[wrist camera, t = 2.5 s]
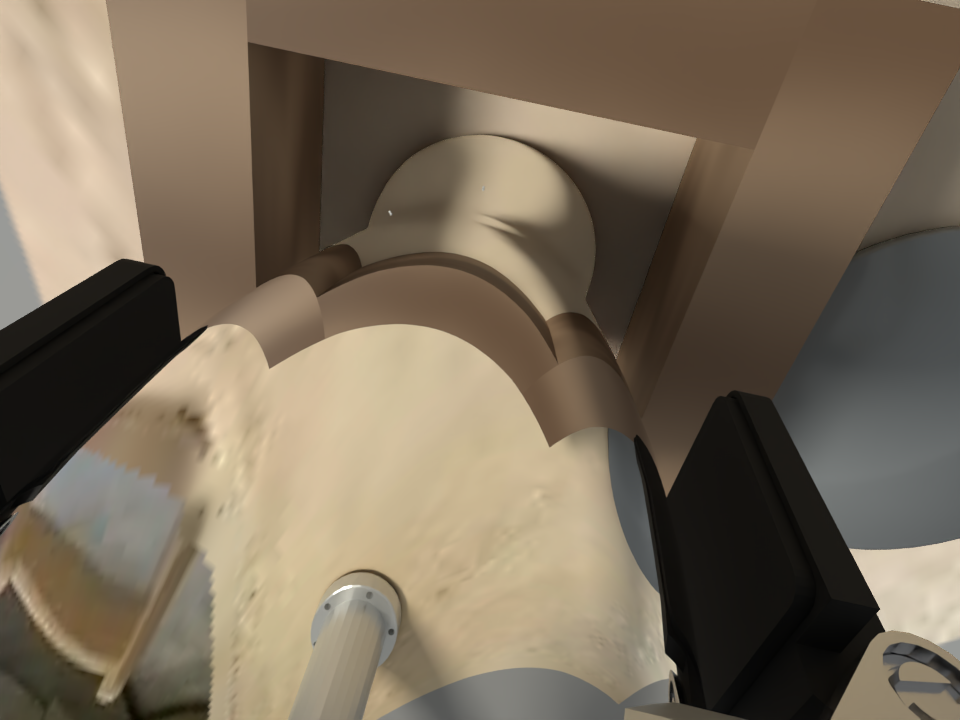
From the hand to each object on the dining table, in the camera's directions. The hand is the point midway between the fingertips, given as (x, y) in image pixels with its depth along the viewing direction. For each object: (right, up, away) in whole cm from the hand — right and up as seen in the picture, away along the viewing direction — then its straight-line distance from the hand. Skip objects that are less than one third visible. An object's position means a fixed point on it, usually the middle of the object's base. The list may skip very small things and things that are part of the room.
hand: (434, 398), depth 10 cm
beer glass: (+1, +4, +6) cm, 7 cm away
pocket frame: (+1, +4, +6) cm, 7 cm away
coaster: (+13, -1, +7) cm, 15 cm away
